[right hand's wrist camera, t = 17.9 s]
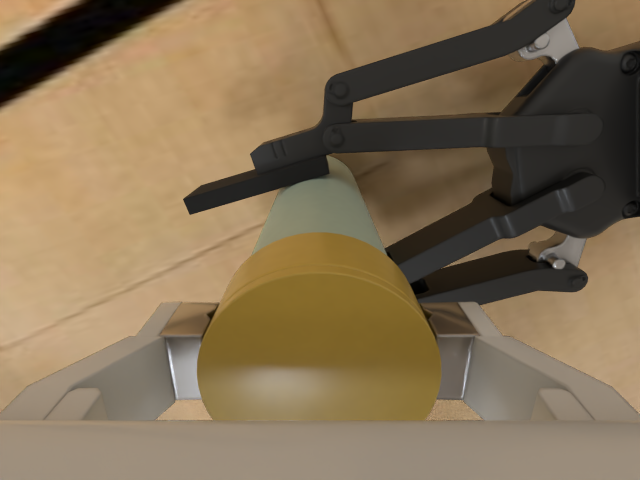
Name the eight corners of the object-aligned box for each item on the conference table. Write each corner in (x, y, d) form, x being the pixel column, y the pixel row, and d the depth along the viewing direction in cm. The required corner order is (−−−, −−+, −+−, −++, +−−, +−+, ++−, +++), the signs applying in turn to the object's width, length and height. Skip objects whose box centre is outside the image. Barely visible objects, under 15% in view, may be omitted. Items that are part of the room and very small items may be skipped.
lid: (431, 238, 9) (465, 281, 7) (400, 402, 11) (419, 475, 9) (220, 224, 9) (189, 262, 7) (224, 392, 11) (200, 464, 9)
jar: (364, 216, 25) (439, 418, 9) (294, 235, 25) (255, 458, 10) (346, 145, 23) (400, 244, 8) (271, 166, 23) (181, 301, 8)
